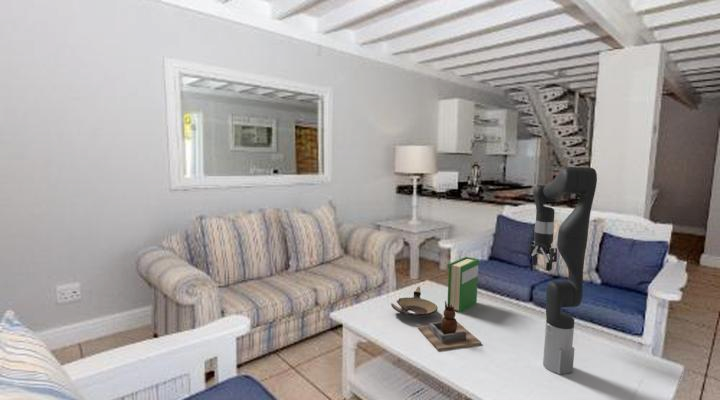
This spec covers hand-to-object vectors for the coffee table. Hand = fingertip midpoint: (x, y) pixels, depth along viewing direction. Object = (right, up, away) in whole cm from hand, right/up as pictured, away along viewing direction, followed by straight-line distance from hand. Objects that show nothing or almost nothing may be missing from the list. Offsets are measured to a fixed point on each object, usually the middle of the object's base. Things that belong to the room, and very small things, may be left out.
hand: (541, 267), depth 168 cm
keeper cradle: (-41, -30, 0) cm, 51 cm away
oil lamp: (-51, -27, +25) cm, 63 cm away
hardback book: (-26, -26, +33) cm, 49 cm away
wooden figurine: (-40, -29, 0) cm, 50 cm away
